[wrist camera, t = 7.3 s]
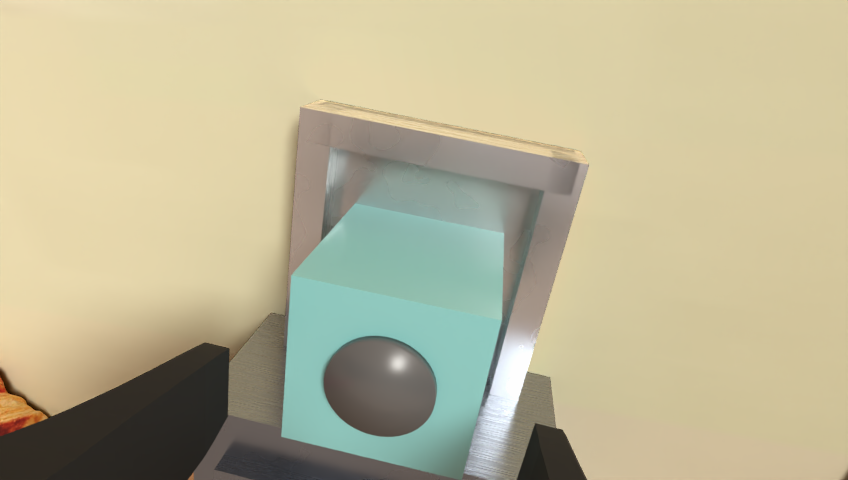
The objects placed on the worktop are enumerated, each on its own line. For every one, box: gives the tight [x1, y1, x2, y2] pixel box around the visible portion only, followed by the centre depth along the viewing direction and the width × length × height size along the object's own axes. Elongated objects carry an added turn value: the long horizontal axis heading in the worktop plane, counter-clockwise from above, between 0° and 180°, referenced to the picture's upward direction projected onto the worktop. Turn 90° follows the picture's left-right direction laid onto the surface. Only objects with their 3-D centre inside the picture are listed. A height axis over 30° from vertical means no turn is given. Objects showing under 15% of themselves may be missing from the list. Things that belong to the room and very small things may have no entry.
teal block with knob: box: [281, 203, 504, 480], centre depth 15 cm, size 5×5×6 cm
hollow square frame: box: [188, 100, 589, 480], centre depth 17 cm, size 12×16×6 cm
